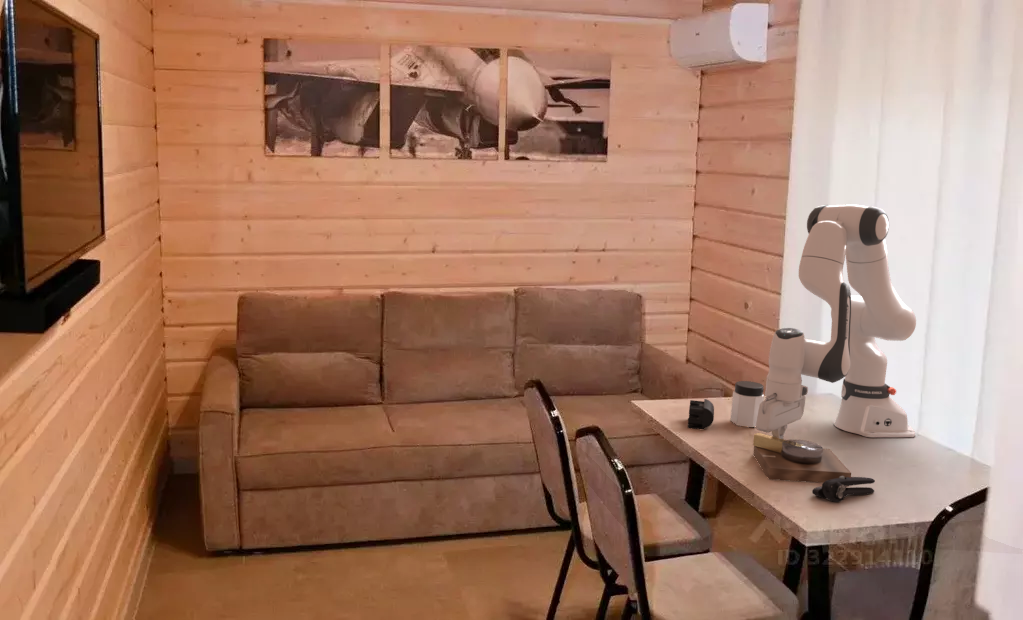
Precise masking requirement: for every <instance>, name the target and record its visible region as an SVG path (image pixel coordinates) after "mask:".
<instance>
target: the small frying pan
mask: <svg viewBox="0 0 1023 620" xmlns="http://www.w3.org/2000/svg"><path fill="white" fill-rule="evenodd" d="M752 441H753V442H752V446H753V447H754V446H757V447H761V448H765V449H768V450H772V451H775V452H779V453H781V456H782V457H783V458H785V459H787V460H789V461H793V462H797V463H803V464H815V463H819V462H821V460H822V452H823V449H824V448H823V446H821V445H820V444H818V443H816V442H812V441H809V440H803V439H784V438H783V439H780V438H777V437H773V435H769V434H765V433H761V432H757V433H753V440H752Z"/></svg>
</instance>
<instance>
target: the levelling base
mask: <svg viewBox="0 0 1023 620" xmlns="http://www.w3.org/2000/svg"><path fill="white" fill-rule="evenodd" d="M753 455H754V456H755V457H754V456H753ZM752 456H753V457H754V459H755V458H756V459H757V460H756V459H755V460H756V462H757V461H758V462H757V464H758V463H759V464H760V465H759V464H758V465H759V467H760V466H761V467H760V468H761V470H762V469H763V470H762V471H763V473H764V475H765V476H766V478H767V477H768V478H767V479H768V480H770V481H784V480H790V481H789V482H801V481H806V482H805V483H819V484H820V483H822V484H823V483H824V482H825V481H826V480H831V479H836V478H839V477H840V476H844V477H852V471H851V470H849V468H848V467H847V466H846V465H845V464H844V463H843V461H841V459H839V457H838V456H837V455H836V454H835V452H833V450H832V449H831V448H823V452H822V460H821V462H819V463H815V464H803V463H797V462H793V461H789V460H787V459H785V458H783V457H782V456H781V453H779V452H775V451H772V450H768V449H765V448H761V447H757V446H754V445H753V452H752Z"/></svg>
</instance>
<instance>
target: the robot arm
mask: <svg viewBox="0 0 1023 620" xmlns="http://www.w3.org/2000/svg"><path fill="white" fill-rule="evenodd" d="M889 228H890V221H889V217H888V214H887V213H886V212H885V210H883V209H882V208H880V207H877V206H872V205H870V206H866V205H861V204H860V205H859V204H846V205H845V204H836V205H829V204H823V205H818V206H816V207H814V208H813V210H812V211H811V212H810V213H809V215H808V217H807V221H806V230H807V233H808V235H807V238H806V240H805V243H804V245H803V249H802V254H801V257H800V262H799V266H798V279H799V281H800V283H801V285H802V286H803V288H805V289H806V290H807V291H809V292H810V293H811V294H813V295H815V296H816V297H818V298H820V299H821V300H823V301H825V302H826V303H827V304H828V305H829V307H830V309H831V310H830V316H831V327H830V329H831V330H830V331H831V333H830V340H829V341H828V342H826V341H820V340H814V339H813V340H812V339H810V338H806V337H805V333H804V332H803V331H802V330H801V329H798V328H793V327H786V328H785V327H784V328H779V329H777V330H776V331H774V333H773V336H772V339H771V342H770V343H771V344H770V348H769V353H768V366H769V367H768V369H769V370H768V373H767V375H766V381H765V382H766V383H765V391H764V401H763V402H761V404H760V406H759V410H758V415H757V421H756V427H755V428H756V430H758V431H760V432H765V433H771V434H772V435H771V436H773V437H777V438H780V439H784V438H785V436H784V435H785V434H786V431H787V429H788V425H789V424H792V423H794V422H797V421H799V420H800V421H801V419H802V418H803V415H804V410H805V406H806V396H807V395H808V391H809V387H808V386H806V385H803V384H802V382H803V380H802V376H806V377H812V378H816V379H819V380H822V381H825V382H829V383H832V384H834V383H837V382H838V381H841V380H843V381H842V385H841V392H840V393H841V401H840V404H839V405H840V406H839V409H838V413H837V416H836V418H835V419H834V422H833V425H834V426H835V427H836V428H837V429H840V430H843V431H845V432H849V433H851V434H852V433H853V434H857V435H860V436H863V437H866V438H914V437H915V435H916V432H915V429H913V427H912V426H910V425H909V423H908V422H909V421H908V415H907V413H906V410H904V408H903V407H901V406H900V405H899V404H898V403H897V402H896V401H895V400H894V399H893V398H892V397H891V396H895V395H896V394H897V390H896V389H895V388H894V387H893V386H890V385H888V384H886V376H887V375H886V374H887V366H888V359H887V356H886V354H885V352H883V351H882V350H881V349H880V348H879V346H878V344H877V342H876V339H879V340H884V341H892V342H893V341H894V342H895V341H897V342H898V341H900V342H901V341H906V340H907V339H909V338H910V337H912V335H913V333H914V332H915V330H916V327H917V319H916V314H915V313H914V310H913V309H911V308H910V307H909V306H908V305H906V303H904V301H903V300H902V299H901V297H900V295H899V294H898V293H897V291H896V289H895V287H894V285H893V283H892V279H891V274H890V269H889V261H888V249H887V244H886V237H887V235H888V233H889ZM845 261H846V262H845ZM845 263H846V272H847V281H848V283H849V285H848V284H847V283H845V280H844V273H843V269H844V265H845ZM850 286H851V288H852V289H853V290H854V291H856V292H857V294H858V295H857V294H856V295H853V294H852V291H851V289H850Z"/></svg>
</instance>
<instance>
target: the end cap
mask: <svg viewBox="0 0 1023 620" xmlns="http://www.w3.org/2000/svg"><path fill="white" fill-rule="evenodd" d="M688 408H689V409H688V420H687V421H688V422H687V429H691V428H692V429H693V430H700V429H704V430H706V429H708V428H710V426H711V425H712V424H713V423H714V420H715V406H714V404H713V402H712V401H710V400H709V399H706V398H704V400H703V401H702V400H693V399H691V400H690V401H689V407H688Z"/></svg>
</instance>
